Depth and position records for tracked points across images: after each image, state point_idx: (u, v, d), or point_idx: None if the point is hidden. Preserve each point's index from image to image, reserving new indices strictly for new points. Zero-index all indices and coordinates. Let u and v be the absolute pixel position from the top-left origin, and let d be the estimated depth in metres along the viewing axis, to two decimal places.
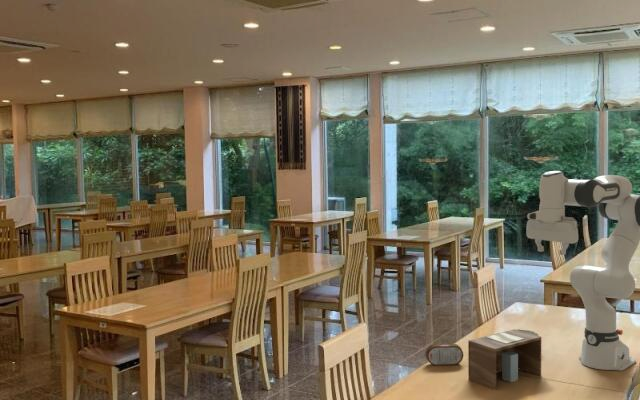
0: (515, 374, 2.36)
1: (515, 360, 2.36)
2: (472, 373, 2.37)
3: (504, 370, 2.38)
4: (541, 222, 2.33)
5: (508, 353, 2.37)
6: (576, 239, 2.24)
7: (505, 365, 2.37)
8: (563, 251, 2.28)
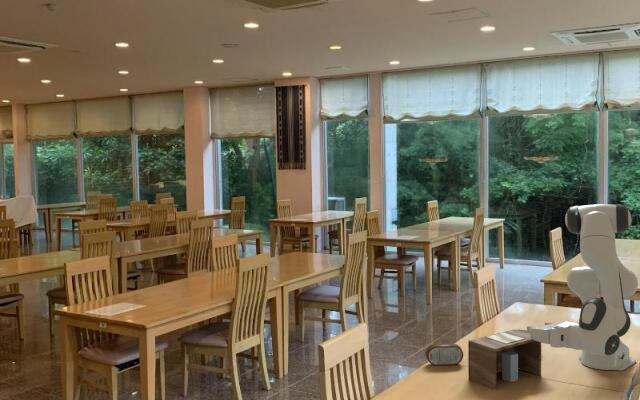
0: (515, 374, 2.36)
1: (515, 360, 2.36)
2: (472, 373, 2.37)
3: (504, 370, 2.38)
4: None
5: (508, 353, 2.37)
6: None
7: (505, 365, 2.37)
8: None
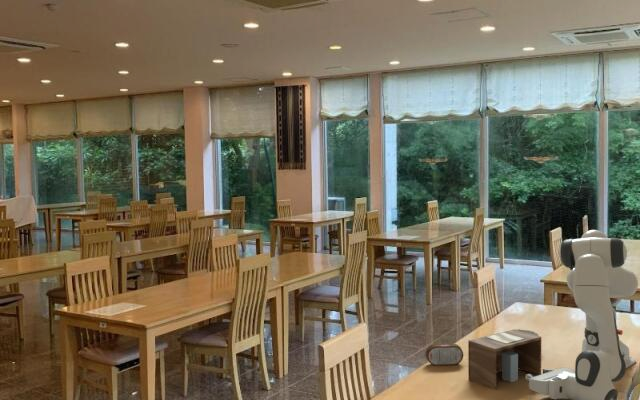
0: (515, 374, 2.36)
1: (515, 360, 2.36)
2: (472, 373, 2.37)
3: (504, 370, 2.38)
4: None
5: (508, 353, 2.37)
6: None
7: (505, 365, 2.37)
8: None
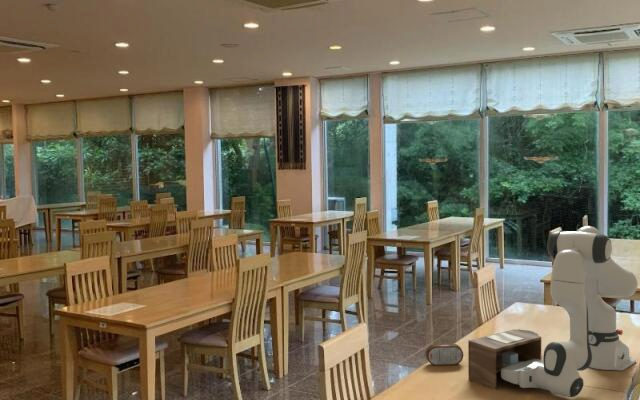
0: None
1: (515, 360, 2.36)
2: (472, 373, 2.37)
3: None
4: None
5: (508, 353, 2.37)
6: None
7: None
8: None
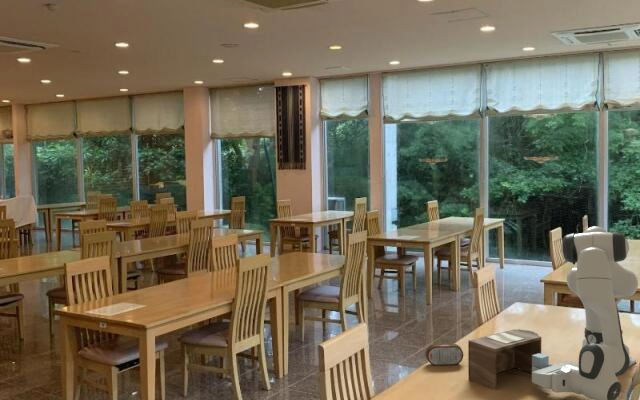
0: None
1: (546, 363, 2.25)
2: (472, 373, 2.37)
3: None
4: None
5: (538, 355, 2.26)
6: None
7: None
8: None
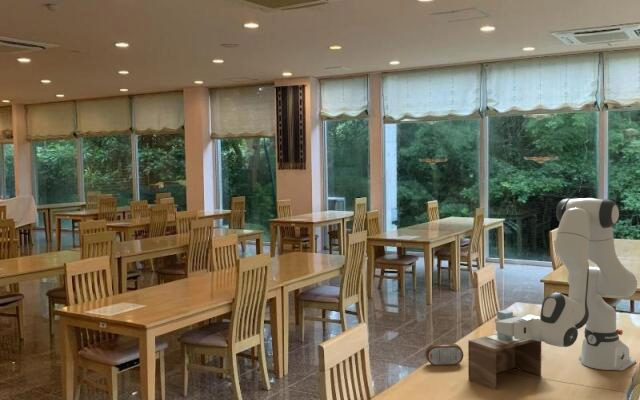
0: None
1: None
2: (472, 373, 2.37)
3: None
4: None
5: (503, 311, 2.39)
6: None
7: None
8: None
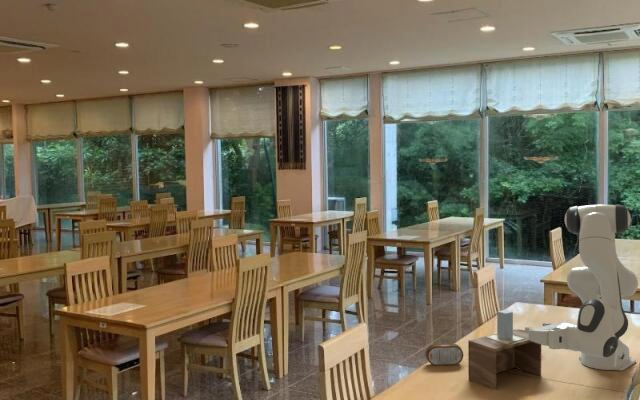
0: (509, 332, 2.38)
1: (510, 318, 2.37)
2: (472, 373, 2.37)
3: (499, 328, 2.39)
4: None
5: (503, 311, 2.39)
6: None
7: (500, 323, 2.38)
8: None
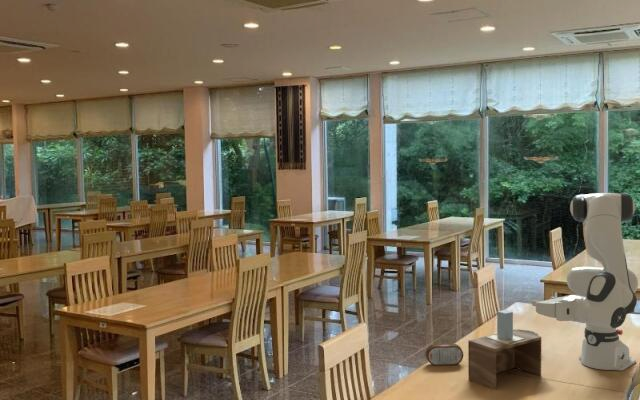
0: (509, 332, 2.38)
1: (510, 318, 2.37)
2: (472, 373, 2.37)
3: (499, 328, 2.39)
4: None
5: (503, 311, 2.39)
6: None
7: (500, 323, 2.38)
8: None
